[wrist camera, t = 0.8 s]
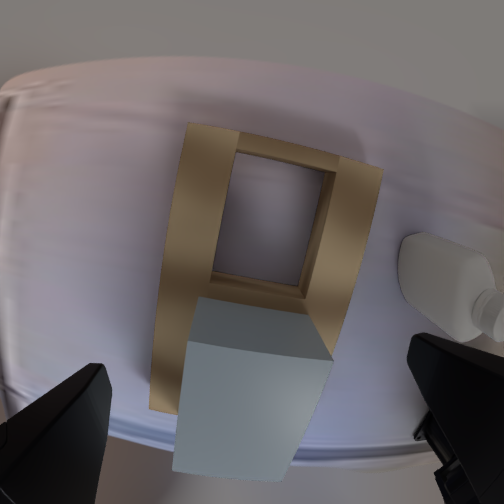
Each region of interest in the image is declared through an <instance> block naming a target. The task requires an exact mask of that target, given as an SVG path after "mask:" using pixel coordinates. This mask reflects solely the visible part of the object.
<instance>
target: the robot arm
mask: <svg viewBox="0 0 504 504" xmlns="http://www.w3.org/2000/svg"><path fill="white" fill-rule="evenodd" d="M407 363H408V366H409V368H410V370H411V372H412V374H413V376H414V379H415V381H416V383H417V385H418V387H419V389H420V391H421V394H422V396H423V398H424V400H425V402H426V403H427V405H428V407H429V409H430V411H429V412H428V414H427V416H426V417H425V419H424V421H423V423H422V424H421V426H420V428H419V429H418V431H417V432H416V434H415V436H414V439H415V441H421V440H427V442H428V443H429V445H430V446H431V448H432V449H433V451H434V452H435V454H436V455H437V457H438V458H439V460H440V461H441V463H442V464H443V466H442V467H441V468H440V469H438V470H436V471H435V472H434V475H435V477H436V478H435V480H436V482H437V484H438V487H439V489H440V491H441V494H442V496H443V499H444V504H504V357H500V356H497V355H494V354H491V353H488V352H484V351H481V350H478V349H475V348H472V347H469V346H465V345H462V344H459V343H456V342H453V341H450V340H447V339H444V338H441V337H437V336H434V335H431V334H428V333H419V334H415V335H413V337H412V338H411V342H410V346H409V350H408V354H407ZM111 399H112V387H111V384H110V380H109V377H108V374H107V371H106V368H105V366H104V365H103V364H102V363H89V364H88V365H86V366H85V367H83V368H82V369H80V370H79V371H77V372H76V373H75V374H73V375H72V376H70V377H69V378H67V379H66V380H64V381H63V382H62V383H60V384H59V385H57V386H56V387H54V388H53V389H51V390H50V391H49V392H47V393H46V394H44V395H43V396H41V397H40V398H38V399H37V400H36V401H34V402H33V403H31V404H30V405H28V406H27V407H25V408H24V409H23V410H21V411H20V412H18V413H17V414H15V415H14V416H12V417H11V418H10V419H8V420H7V422H4V423H2V424H1V425H0V504H95V498H96V492H97V487H98V481H99V476H100V471H101V466H102V461H103V456H104V451H105V447H106V441H107V435H108V426H109V416H110V407H111Z"/></svg>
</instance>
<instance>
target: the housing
mask: <svg viewBox="0 0 504 504" xmlns="http://www.w3.org/2000/svg"><path fill="white" fill-rule="evenodd" d="M333 362H334V360H333V358H332V357H331V355H330V353H329V351H328V349H327V347H326V346H325V344H324V342H323V340H322V338H321V336H320V334H319V333H318V331H317V329H316V327H315V325H314V323H313V322H312V320H311V318H310V316H309V315H305V314H298V313H292V312H285V311H279V310H273V309H267V308H261V307H255V306H249V305H243V304H237V303H232V302H226V301H220V300H215V299H210V298H204V297H198V301H197V305H196V309H195V313H194V317H193V321H192V325H191V329H190V333H189V337H188V342H187V349H186V356H185V363H184V370H183V378H182V386H181V394H180V402H179V410H178V419H177V428H176V437H175V447H174V457H173V467H172V471H178V472H183V473H189V474H196V475H202V476H210V477H219V478H227V479H238V480H252V481H273V482H274V481H275V482H282V480H283V477H284V476H285V474H286V471H287V469H288V467H289V466H290V463H291V461H292V459H293V457H294V455H295V453H296V451H297V449H298V447H299V444H300V442H301V440H302V438H303V436H304V433H305V431H306V429H307V427H308V424H309V422H310V420H311V417H312V415H313V413H314V410H315V408H316V405H317V403H318V401H319V398H320V396H321V393H322V391H323V388H324V386H325V383H326V381H327V378H328V375H329V373H330V370H331V368H332V365H333Z"/></svg>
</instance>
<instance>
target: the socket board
mask: <svg viewBox="0 0 504 504" xmlns="http://www.w3.org/2000/svg"><path fill="white" fill-rule="evenodd" d="M236 152H239V153H244V154H249V155H253V156H258V157H263V158H267V159H272V160H276V161H281V162H285V163H289V164H293V165H298V166H302V167H306V168H310V169H314V170H318V171H321V172H325V174H324V179H323V183H322V188H321V193H320V197H319V201H318V206H317V210H316V214H315V219H314V223H313V227H312V231H311V236H310V240H309V244H308V248H307V252H306V256H305V260H304V264H303V268H302V272H301V276H300V280H299V284H298V286H292V285H287V284H281V283H275V282H270V281H264V280H259V279H253V278H248V277H242V276H237V275H231V274H226V273H221V272H215V271H212V268H213V262H214V257H215V251H216V246H217V241H218V236H219V231H220V225H221V220H222V215H223V210H224V205H225V200H226V195H227V191H228V186H229V181H230V176H231V171H232V167H233V162H234V157H235V153H236ZM383 170H384V169H381V168H378V167H375V166H372V165H368V164H365V163H362V162H359V161H355V160H352V159H349V158H345V157H342V156H338V155H335V154H331V153H328V152H324V151H321V150H317V149H313V148H309V147H305V146H301V145H297V144H293V143H289V142H285V141H281V140H277V139H272V138H268V137H263V136H259V135H254V134H249V133H245V132H240V131H235V130H229V129H224V128H219V127H213V126H207V125H202V124H196V123H189V122H188V125H187V130H186V134H185V139H184V143H183V148H182V153H181V157H180V162H179V167H178V172H177V177H176V183H175V188H174V193H173V199H172V204H171V210H170V216H169V222H168V228H167V235H166V241H165V248H164V254H163V261H162V269H161V276H160V284H159V292H158V301H157V310H156V319H155V329H154V340H153V351H152V364H151V379H150V396H149V409H150V410H155V411H159V412H164V413H169V414H174V415H178V410H179V402H180V394H181V386H182V378H183V370H184V363H185V356H186V349H187V342H188V337H189V333H190V329H191V325H192V321H193V317H194V313H195V309H196V305H197V301H198V297H204V298H210V299H215V300H220V301H226V302H232V303H237V304H243V305H249V306H255V307H261V308H267V309H273V310H279V311H285V312H292V313H298V314H305V315H309V316H310V318H311V320H312V322H313V323H314V325H315V327H316V329H317V331H318V333H319V334H320V336H321V338H322V340H323V342H324V344H325V346H326V347H327V349H328V351H329V353H330V355H331V356H332V354H333V351H334V348H335V345H336V342H337V339H338V337H339V334H340V331H341V328H342V325H343V322H344V319H345V315H346V312H347V309H348V306H349V303H350V300H351V296H352V293H353V290H354V287H355V283H356V280H357V276H358V273H359V269H360V266H361V262H362V259H363V255H364V251H365V247H366V244H367V240H368V236H369V232H370V228H371V224H372V220H373V216H374V211H375V207H376V203H377V198H378V194H379V189H380V185H381V180H382V175H383Z"/></svg>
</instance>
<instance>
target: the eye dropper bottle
mask: <svg viewBox="0 0 504 504" xmlns="http://www.w3.org/2000/svg"><path fill="white" fill-rule="evenodd" d="M398 278H399V283H400V288H401V291H402V293H403V296H404V298H405V299H406V301H407V302H408V303H409V304H410V305H411V306H413V307H414V308H415V309H416V310H418V311H419V312H420V313H421V314H423V315H424V316H425V317H427V318H428V319H429V320H430V321H432V322H433V323H434V324H435V325H437V326H438V327H439V328H440V329H442V330H443V331H444V332H446V333H447V334H448V335H449V336H451V337H452V338H453V339H455V340H456V341H458V342H467V341H470V340H472V339H474V338H476V337H478V336H479V335H480V334H481V333H482V332H483V333H485V334H486V335H487V336H489V337H490V338H492V339H493V340H494V341H496V342H502V341H504V293H502V292H500V291H498V290H496V286H495V280H494V276H493V273H492V269H491V267H490V264H489V262H488V260H487V258H486V257H485V256H484V255H483V254H481V253H480V252H477V251H475V250H473V249H470V248H468V247H465V246H462V245H460V244H457V243H454V242H452V241H449V240H446V239H443V238H440V237H437V236H435V235H432V234H429V233H425V232H421V233H417V234H413V235H409V236H407V237H405V238H404V240H403V241H402V244H401V248H400V252H399V258H398Z"/></svg>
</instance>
